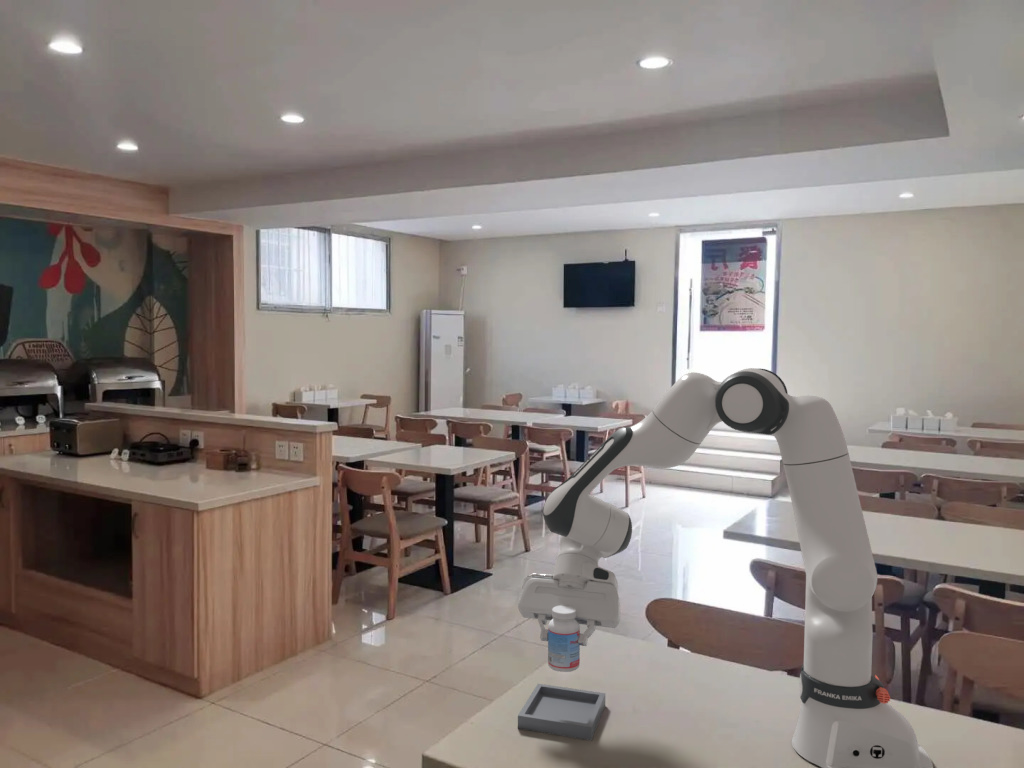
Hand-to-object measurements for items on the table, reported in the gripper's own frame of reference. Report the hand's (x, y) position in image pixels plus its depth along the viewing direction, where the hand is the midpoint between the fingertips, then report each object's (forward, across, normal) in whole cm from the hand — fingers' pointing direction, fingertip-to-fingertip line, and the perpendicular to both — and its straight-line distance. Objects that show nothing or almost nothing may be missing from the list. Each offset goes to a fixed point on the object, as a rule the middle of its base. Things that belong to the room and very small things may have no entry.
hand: (563, 642), depth 146 cm
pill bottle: (+3, 0, +4) cm, 5 cm away
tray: (+10, 0, +11) cm, 15 cm away
